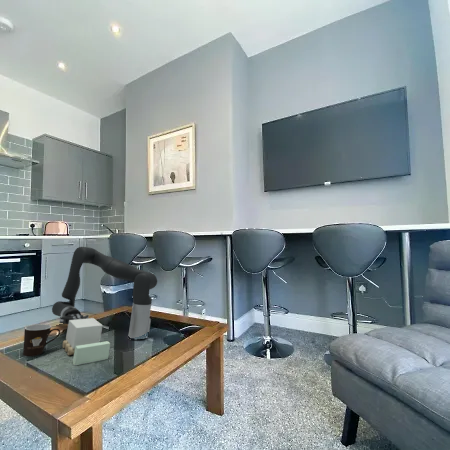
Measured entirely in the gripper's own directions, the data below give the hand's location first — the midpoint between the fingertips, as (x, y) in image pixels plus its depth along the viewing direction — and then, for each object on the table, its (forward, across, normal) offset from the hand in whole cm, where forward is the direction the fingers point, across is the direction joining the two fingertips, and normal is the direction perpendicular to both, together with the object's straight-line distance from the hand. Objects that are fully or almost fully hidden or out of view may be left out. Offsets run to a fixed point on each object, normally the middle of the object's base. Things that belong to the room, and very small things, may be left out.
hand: (79, 323), depth 114 cm
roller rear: (+4, 0, +8) cm, 10 cm away
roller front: (+13, 0, +8) cm, 16 cm away
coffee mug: (+6, -15, +9) cm, 18 cm away
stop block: (+23, 0, +9) cm, 24 cm away
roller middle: (+9, 0, +8) cm, 12 cm away
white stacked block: (+9, 0, +6) cm, 10 cm away
